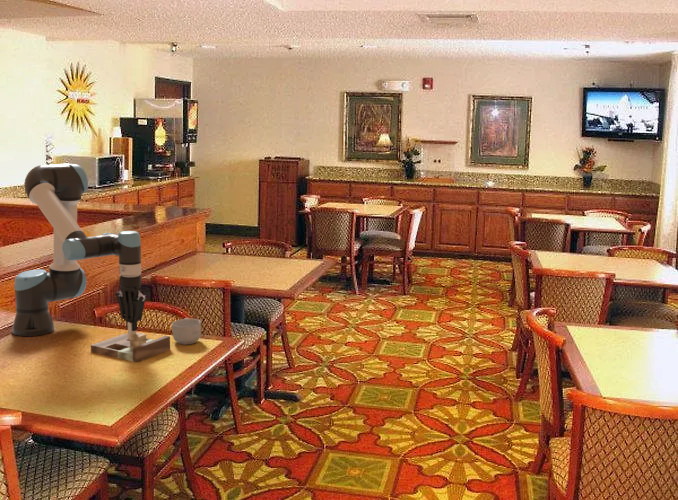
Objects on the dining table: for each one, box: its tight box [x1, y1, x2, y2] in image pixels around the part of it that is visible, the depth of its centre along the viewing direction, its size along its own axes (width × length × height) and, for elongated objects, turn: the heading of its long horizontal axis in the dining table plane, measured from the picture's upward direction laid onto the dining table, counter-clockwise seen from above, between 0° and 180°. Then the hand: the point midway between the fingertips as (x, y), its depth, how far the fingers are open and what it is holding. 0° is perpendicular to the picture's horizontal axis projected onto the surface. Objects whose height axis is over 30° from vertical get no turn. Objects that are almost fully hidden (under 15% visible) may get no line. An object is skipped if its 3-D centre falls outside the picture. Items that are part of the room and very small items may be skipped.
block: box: [130, 332, 147, 347], centre depth 271 cm, size 4×4×4 cm
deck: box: [90, 333, 171, 363], centre depth 272 cm, size 22×17×5 cm
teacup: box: [171, 317, 202, 346], centre depth 285 cm, size 14×11×8 cm
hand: (132, 338), depth 272 cm, fingers closed
